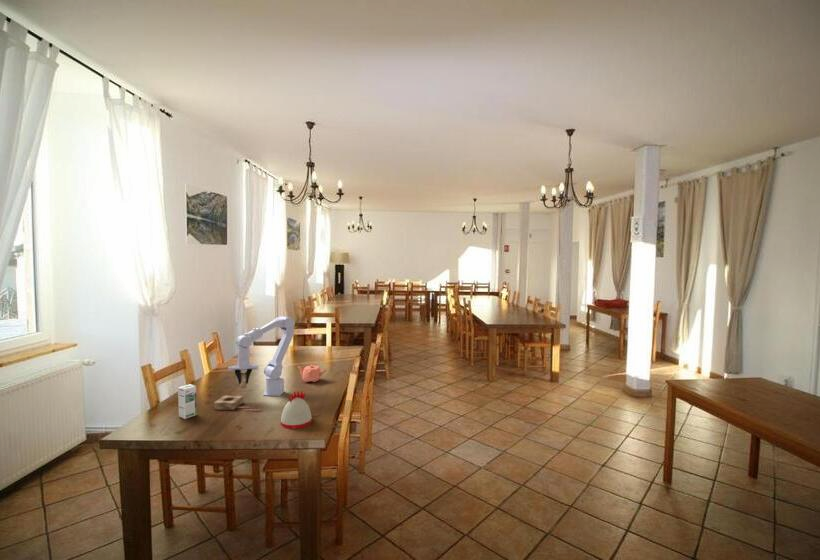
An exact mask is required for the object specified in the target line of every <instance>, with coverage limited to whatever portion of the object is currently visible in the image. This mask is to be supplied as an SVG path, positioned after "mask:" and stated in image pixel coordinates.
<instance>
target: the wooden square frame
mask: <svg viewBox="0 0 820 560" xmlns="http://www.w3.org/2000/svg"><path fill="white" fill-rule="evenodd" d="M243 403H244V396H243V395H223V396H221V397H220V398H219V399H216V401H214V402H213V410H221V411H222V410H226V411H227V410H229V411H234V410H235V409H237V408H236V407H240V406H241V405H242V404H243Z"/></svg>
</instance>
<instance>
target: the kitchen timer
mask: <svg viewBox="0 0 820 560" xmlns="http://www.w3.org/2000/svg"><path fill="white" fill-rule="evenodd" d="M305 396H306V392H305V391H303V390H302V389H301V391H300V392H299V390H297V391H296V390H294V391H293V394H292V393H291V394H290V397H291V398H290V397H289V396H287V399H288V402H287V403H286V404H285V405H284V407H283V409H282V413H281V416H280V426H281V427H283V429H289V430H294V429H301V428H305V427H307V426H309V425H310V424H311V423H312V422H313V421H312V412H311V409H310V404H308V403H307V402H306V401H305V400H304V398H305Z"/></svg>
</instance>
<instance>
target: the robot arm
mask: <svg viewBox="0 0 820 560" xmlns="http://www.w3.org/2000/svg"><path fill="white" fill-rule="evenodd" d="M295 325H296V322H295V320H294V319H293V318H292V317H288V316H284V315H279V316H278V317H275V318H274V319H273V320H272V321H269V322H268V323H267V324H265V325H263V326H261V327H260V328H259V327H253V328H252V330H250V331H249V332H245V333H244V334H243V335H242V334H241V335H239V336H238V337H237V338H236V340H235V344H236V345H237V365H233V366H228V372H231V371H234V374H235V376H236V378H237V381H238V385H241V373H242V371H245V372H246V374H247V380H246V384H247V385H248V384H249V379H250V376H251V373H252V371H253V370H259V364H250V347H251V345H252V343H254V342H255V341H258V340H260V339H261V338H263V335H264V334H265V333H267V332H269V331H271V330H273V329H275V328H280V329H281V331H282V336H281V338H280V341H279V343H278V346H277V348H276V350H275V352H274V355H273V356H272V359H271V360H270V361H269V362H268V363H267V365H266V366H265V367H264V369H263V373H264V375H265V392H264V393H263V396H268V397H269V396H270V397H273V396H274V397H281V396H282V394H284V392H285V379H284V377H283V378H282V377H281V376H282V370H283V367H284V366H283V360H284V359H285V356H286V354H287V351H288V348H289V347H290V344H291V342H292V340H293V337H294V335H295Z"/></svg>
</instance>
